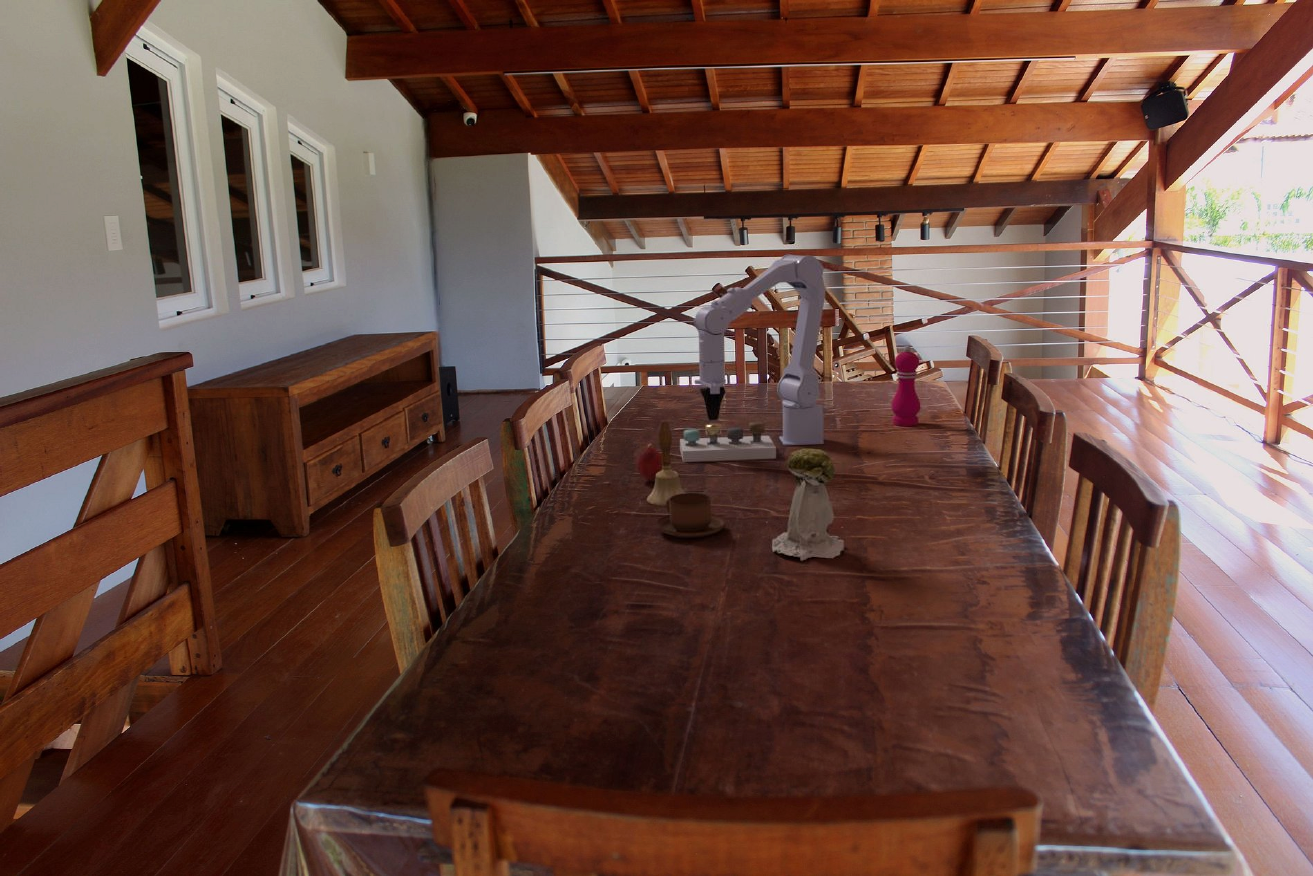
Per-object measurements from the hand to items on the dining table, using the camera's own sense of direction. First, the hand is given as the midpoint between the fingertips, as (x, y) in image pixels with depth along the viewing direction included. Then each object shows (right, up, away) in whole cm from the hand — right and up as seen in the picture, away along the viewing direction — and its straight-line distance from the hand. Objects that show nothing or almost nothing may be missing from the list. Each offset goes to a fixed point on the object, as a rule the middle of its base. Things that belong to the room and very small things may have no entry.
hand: (713, 419), depth 229 cm
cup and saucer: (-7, -21, -52) cm, 56 cm away
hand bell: (-11, -17, -32) cm, 38 cm away
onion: (-14, -14, -19) cm, 27 cm away
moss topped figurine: (+12, -23, -63) cm, 68 cm away
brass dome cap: (0, -5, +1) cm, 5 cm away
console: (+3, -8, +2) cm, 9 cm away
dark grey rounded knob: (+5, -6, +2) cm, 8 cm away
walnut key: (+10, -5, +1) cm, 11 cm away
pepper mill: (+51, -1, +26) cm, 57 cm away
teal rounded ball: (-5, -7, +1) cm, 8 cm away
